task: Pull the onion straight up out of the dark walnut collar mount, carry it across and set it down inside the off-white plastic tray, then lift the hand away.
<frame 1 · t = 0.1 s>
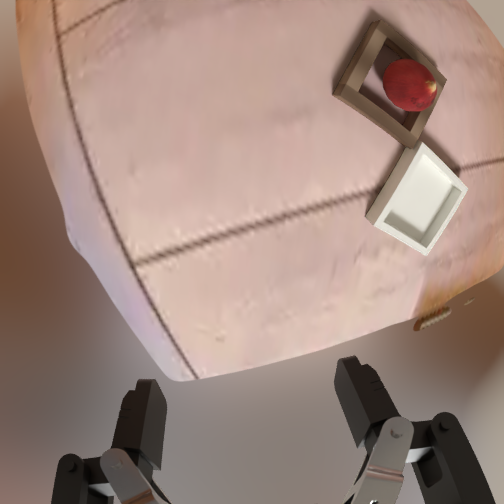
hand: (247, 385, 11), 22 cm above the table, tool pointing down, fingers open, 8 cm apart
tray: (416, 197, 32), on the table
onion: (390, 83, 24), resting in collar mount
collar mount: (391, 83, 24), on the table
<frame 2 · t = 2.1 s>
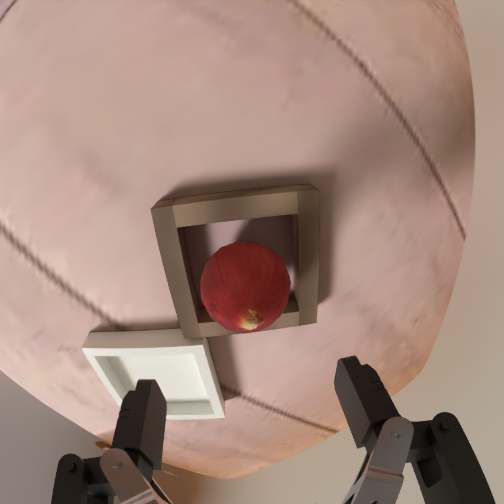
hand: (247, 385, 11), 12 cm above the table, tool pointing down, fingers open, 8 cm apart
tray: (160, 372, 26), on the table
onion: (241, 259, 22), resting in collar mount
collar mount: (241, 261, 22), on the table
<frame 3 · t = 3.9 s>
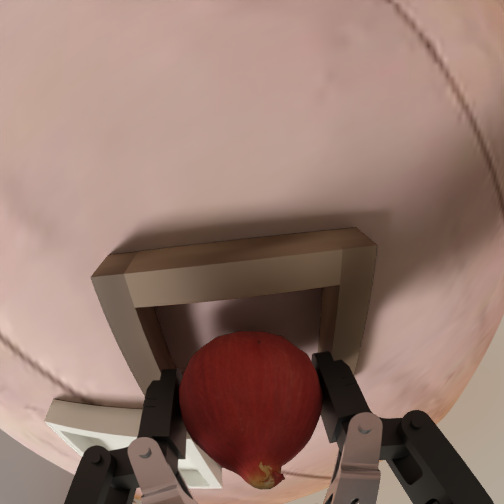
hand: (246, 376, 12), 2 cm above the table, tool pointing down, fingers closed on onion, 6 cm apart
tray: (142, 444, 18), on the table
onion: (243, 338, 14), resting in collar mount, touching gripper
collar mount: (243, 341, 14), on the table
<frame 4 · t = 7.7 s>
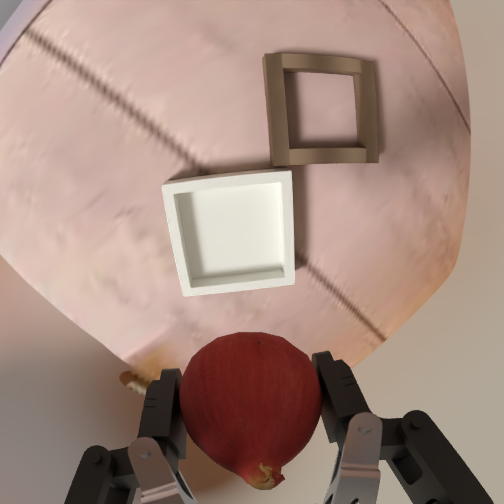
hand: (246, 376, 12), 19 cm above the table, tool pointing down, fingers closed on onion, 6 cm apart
tray: (231, 229, 29), on the table
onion: (243, 339, 14), point 17 cm above the table, touching gripper
collar mount: (320, 109, 25), on the table
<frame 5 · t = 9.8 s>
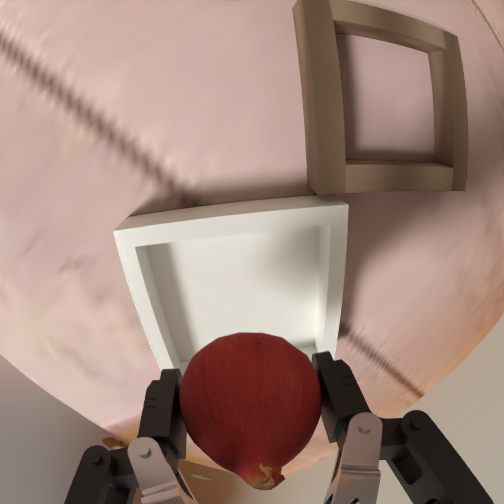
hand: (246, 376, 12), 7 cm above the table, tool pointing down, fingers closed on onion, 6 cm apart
tray: (239, 294, 18), on the table
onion: (243, 339, 14), point 4 cm above the table, touching gripper
collar mount: (387, 98, 13), on the table
when the fingers open (4 cm above the table, at t = 11.4 s): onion drops 1 cm, resting on tray.
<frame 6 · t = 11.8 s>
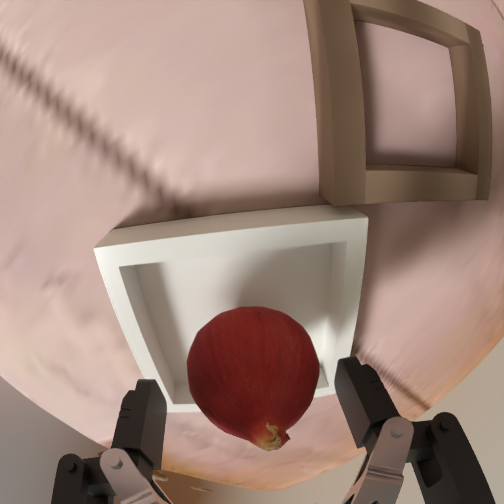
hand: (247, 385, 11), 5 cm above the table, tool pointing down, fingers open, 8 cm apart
tray: (240, 315, 16), on the table
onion: (242, 319, 15), resting on tray
collar mount: (408, 94, 11), on the table
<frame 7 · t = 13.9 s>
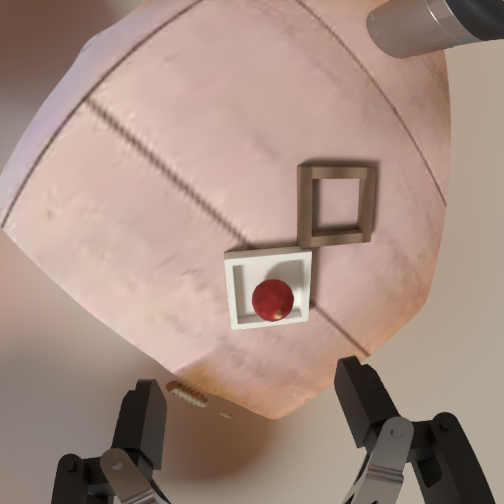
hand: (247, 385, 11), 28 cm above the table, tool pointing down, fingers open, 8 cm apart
tray: (267, 285, 42), on the table
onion: (268, 285, 42), resting on tray
collar mount: (334, 203, 38), on the table
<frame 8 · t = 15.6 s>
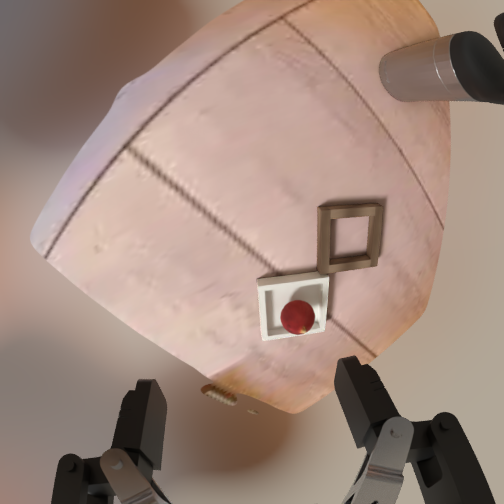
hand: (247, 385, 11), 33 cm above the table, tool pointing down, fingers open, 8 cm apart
tray: (291, 303, 50), on the table
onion: (292, 304, 50), resting on tray
collar mount: (347, 236, 45), on the table
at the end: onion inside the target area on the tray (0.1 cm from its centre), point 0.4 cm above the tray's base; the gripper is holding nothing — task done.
